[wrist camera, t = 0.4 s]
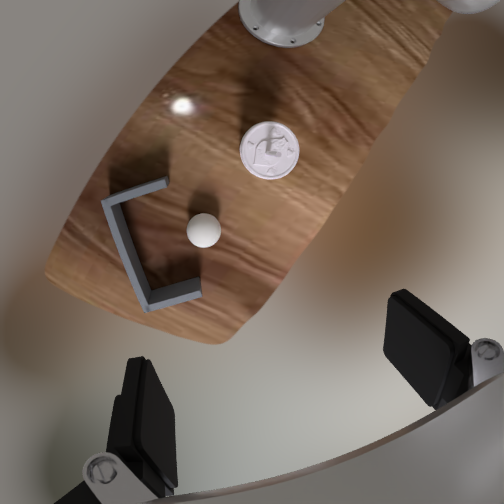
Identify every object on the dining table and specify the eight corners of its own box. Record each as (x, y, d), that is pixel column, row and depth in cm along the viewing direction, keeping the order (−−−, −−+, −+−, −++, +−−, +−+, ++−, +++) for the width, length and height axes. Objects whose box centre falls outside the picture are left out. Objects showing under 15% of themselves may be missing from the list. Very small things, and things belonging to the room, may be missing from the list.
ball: (182, 215, 41) (182, 223, 37) (214, 206, 41) (217, 213, 37) (192, 245, 43) (192, 256, 38) (222, 236, 43) (226, 246, 39)
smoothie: (219, 145, 39) (234, 144, 26) (257, 117, 38) (289, 104, 25) (249, 181, 41) (277, 198, 28) (284, 153, 41) (327, 158, 28)
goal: (109, 195, 38) (100, 201, 34) (167, 175, 39) (164, 179, 35) (147, 297, 44) (144, 313, 40) (200, 282, 45) (202, 296, 41)
